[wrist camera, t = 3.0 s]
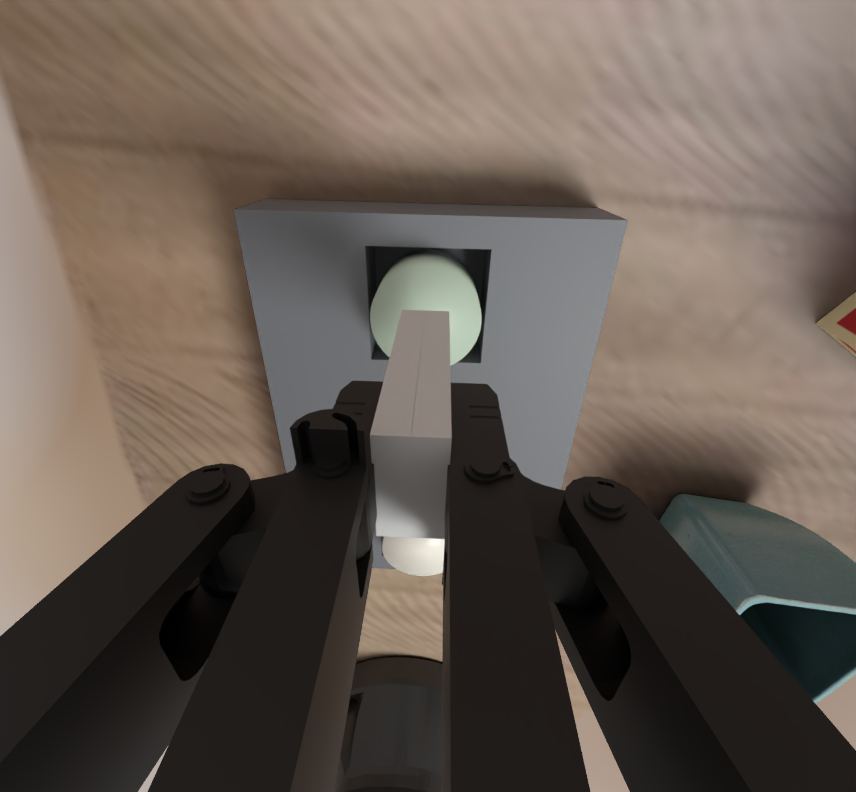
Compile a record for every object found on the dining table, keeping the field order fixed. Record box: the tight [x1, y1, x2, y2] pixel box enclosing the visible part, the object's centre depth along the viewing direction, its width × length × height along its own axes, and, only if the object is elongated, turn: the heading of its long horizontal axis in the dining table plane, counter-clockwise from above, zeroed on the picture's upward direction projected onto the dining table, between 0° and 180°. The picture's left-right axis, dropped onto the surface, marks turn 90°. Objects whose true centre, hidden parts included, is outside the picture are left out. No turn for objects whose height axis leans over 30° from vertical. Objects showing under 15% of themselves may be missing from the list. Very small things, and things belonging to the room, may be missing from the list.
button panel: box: [233, 199, 628, 569], centre depth 23 cm, size 21×15×4 cm
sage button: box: [370, 249, 482, 366], centre depth 18 cm, size 4×4×3 cm
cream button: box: [382, 536, 445, 576], centre depth 25 cm, size 4×4×3 cm
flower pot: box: [659, 494, 856, 704], centre depth 25 cm, size 9×9×9 cm
